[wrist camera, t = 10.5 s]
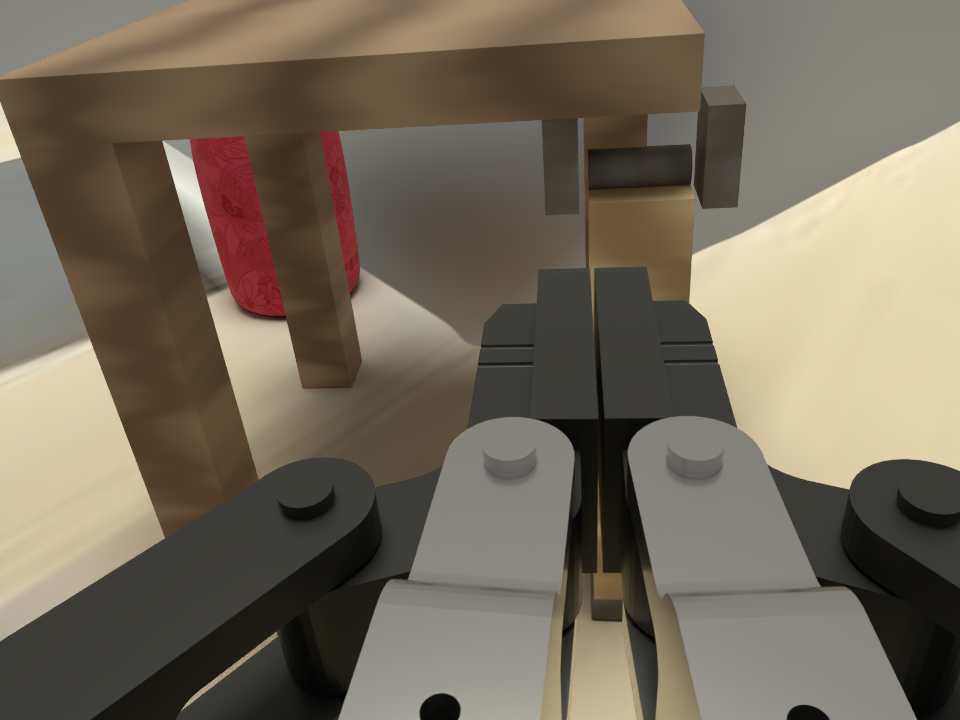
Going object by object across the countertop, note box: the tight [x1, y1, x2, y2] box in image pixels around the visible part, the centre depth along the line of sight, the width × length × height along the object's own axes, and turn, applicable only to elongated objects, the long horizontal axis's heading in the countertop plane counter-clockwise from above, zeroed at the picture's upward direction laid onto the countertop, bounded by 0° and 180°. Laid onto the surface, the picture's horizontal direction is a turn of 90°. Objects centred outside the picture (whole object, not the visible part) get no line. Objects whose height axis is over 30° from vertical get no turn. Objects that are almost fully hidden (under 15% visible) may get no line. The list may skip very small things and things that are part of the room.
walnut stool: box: [0, 0, 746, 538], centre depth 37 cm, size 21×20×22 cm
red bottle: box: [190, 131, 360, 316], centre depth 53 cm, size 10×10×30 cm
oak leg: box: [588, 144, 695, 619], centre depth 29 cm, size 3×3×18 cm
